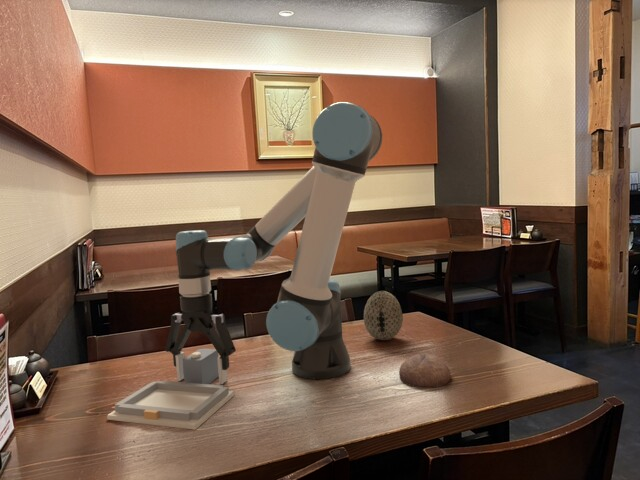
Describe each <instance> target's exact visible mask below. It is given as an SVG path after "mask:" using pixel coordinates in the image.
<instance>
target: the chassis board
mask: <svg viewBox="0 0 640 480" xmlns="http://www.w3.org/2000/svg"><path fill="white" fill-rule="evenodd" d="M234 396H235V390H229V387H226V386H225V385H224V384H211V383H210V384H198V383H185V382H184V381H182V382H181V381H173V380H172V381H171V380H170V381H169V380H159V381H154V380H153V381H151V382H149V383H147V384H146V385H144V386H143V387H141V388H140V389H138V390H136V391H135V392H133V393H132V394H129V395H128V396H126V397H125V398H123V399H121V400H120V401H118V402H117V403H115V404H114V410H113V411H111V412H110V413H108V414H107V417H106V418H107V420H108V421H109V420H110V421H116V422H117V421H118V422H124V423H125V422H126V423H133V424H134V423H135V424H142V425H150V426H151V425H152V426H158V427H159V426H161V427H168V428H169V427H170V428H178V429H187V430H193V431H195V430H197V429H198V428H200V426H201V425H202V424H204V423H205V422H206V421H207V420H208V419H209V418H210V417H212V415H214V413H217V411H218V410H219V409H220V408H222V407H223V406H224V405H225V404H226V403H227V402H228V401H230V400H231V399H232V398H233V397H234Z"/></svg>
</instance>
